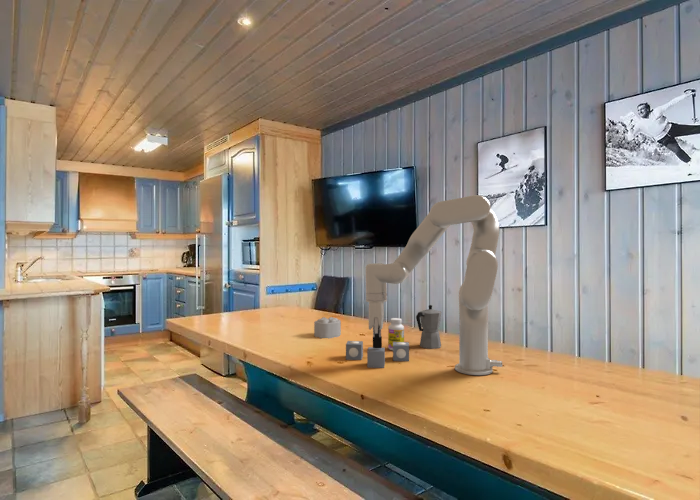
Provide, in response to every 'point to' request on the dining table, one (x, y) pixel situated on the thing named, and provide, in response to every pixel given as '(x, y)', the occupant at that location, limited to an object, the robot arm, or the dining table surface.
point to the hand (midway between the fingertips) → (377, 347)
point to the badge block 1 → (354, 350)
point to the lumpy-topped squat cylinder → (327, 328)
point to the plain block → (375, 357)
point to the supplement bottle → (395, 332)
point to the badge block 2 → (400, 351)
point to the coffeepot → (429, 328)
